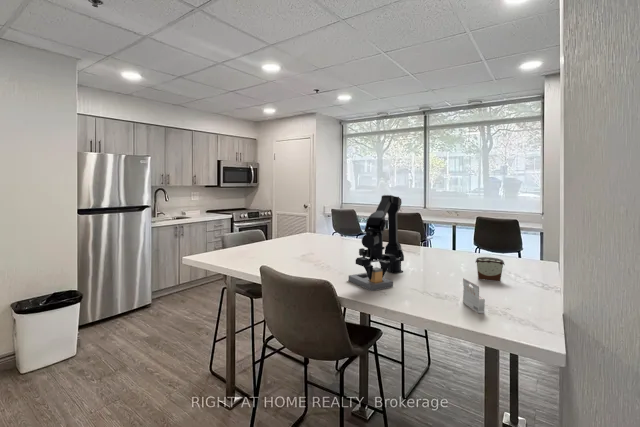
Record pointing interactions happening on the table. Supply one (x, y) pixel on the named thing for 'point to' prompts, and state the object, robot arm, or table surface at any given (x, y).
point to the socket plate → (369, 282)
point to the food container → (489, 268)
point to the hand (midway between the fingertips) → (376, 278)
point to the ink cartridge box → (473, 297)
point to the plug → (376, 275)
